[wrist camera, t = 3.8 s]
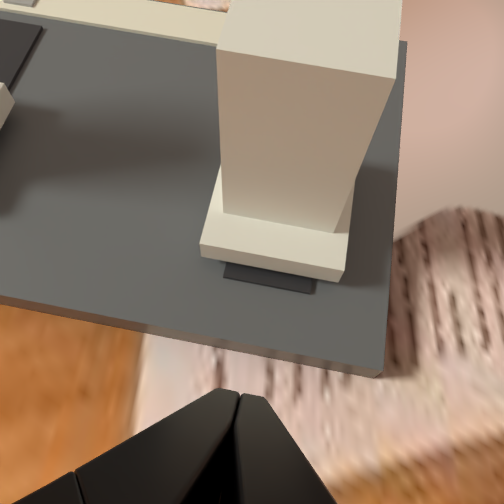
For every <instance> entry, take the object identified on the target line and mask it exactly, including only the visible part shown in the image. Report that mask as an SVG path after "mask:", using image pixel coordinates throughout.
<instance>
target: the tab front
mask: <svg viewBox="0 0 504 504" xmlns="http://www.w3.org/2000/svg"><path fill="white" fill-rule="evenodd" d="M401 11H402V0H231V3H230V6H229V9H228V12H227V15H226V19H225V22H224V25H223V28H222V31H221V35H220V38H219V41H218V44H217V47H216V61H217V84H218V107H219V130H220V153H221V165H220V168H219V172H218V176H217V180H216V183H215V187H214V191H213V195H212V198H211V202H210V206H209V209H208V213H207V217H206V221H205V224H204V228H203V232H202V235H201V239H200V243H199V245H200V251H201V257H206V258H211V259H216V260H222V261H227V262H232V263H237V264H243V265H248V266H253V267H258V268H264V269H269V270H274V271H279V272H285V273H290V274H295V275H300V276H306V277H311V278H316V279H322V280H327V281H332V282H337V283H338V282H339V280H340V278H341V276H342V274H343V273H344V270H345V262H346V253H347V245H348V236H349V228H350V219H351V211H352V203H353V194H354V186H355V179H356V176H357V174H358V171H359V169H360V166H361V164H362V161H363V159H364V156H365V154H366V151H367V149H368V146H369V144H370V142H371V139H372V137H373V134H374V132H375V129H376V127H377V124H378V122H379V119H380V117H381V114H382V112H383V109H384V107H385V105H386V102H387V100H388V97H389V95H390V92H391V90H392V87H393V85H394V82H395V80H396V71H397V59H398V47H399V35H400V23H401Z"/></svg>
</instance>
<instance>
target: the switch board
mask: <svg viewBox="0 0 504 504" xmlns="http://www.w3.org/2000/svg"><path fill="white" fill-rule="evenodd" d="M226 15H227V12H222V11H216V10H209V9H203V8H197V7H191V6H185V5H179V4H173V3H166V2H160V1H154V0H0V82H1V83H4V84H5V85H6V87H7V89H8V91H9V92H10V94H11V96H12V97H13V99H14V101H15V103H14V105H13V107H12V109H11V111H10V113H9V115H8V116H7V118H6V120H5V122H4V124H3V126H2V128H1V130H0V304H3V305H8V306H13V307H18V308H23V309H28V310H33V311H38V312H43V313H48V314H53V315H58V316H63V317H68V318H73V319H78V320H83V321H88V322H93V323H98V324H103V325H108V326H113V327H118V328H123V329H128V330H133V331H138V332H143V333H148V334H153V335H158V336H163V337H168V338H173V339H178V340H183V341H188V342H193V343H198V344H203V345H208V346H213V347H218V348H223V349H228V350H233V351H238V352H243V353H248V354H253V355H258V356H263V357H268V358H273V359H278V360H283V361H288V362H293V363H298V364H303V365H308V366H313V367H318V368H323V369H328V370H333V371H338V372H343V373H348V374H354V375H359V376H364V377H369V378H374V377H376V376H377V375H378V374H380V373H381V372H383V369H384V355H385V341H386V327H387V314H388V300H389V286H390V273H391V259H392V245H393V231H394V217H395V203H396V190H397V176H398V162H399V148H400V134H401V122H402V108H403V94H404V80H405V67H406V52H407V42H406V41H400V40H399V47H398V59H397V71H396V80H395V82H394V85H393V87H392V90H391V92H390V95H389V97H388V100H387V102H386V105H385V107H384V109H383V112H382V114H381V117H380V119H379V122H378V124H377V127H376V129H375V132H374V134H373V137H372V139H371V142H370V144H369V146H368V149H367V151H366V154H365V156H364V159H363V161H362V164H361V166H360V169H359V171H358V174H357V176H356V179H355V186H354V194H353V203H352V211H351V219H350V228H349V236H348V245H347V253H346V262H345V270H344V273H343V274H342V276H341V278H340V280H339V282H338V283H337V282H332V281H327V280H322V279H316V278H311V277H306V276H300V275H295V274H290V273H285V272H279V271H274V270H269V269H264V268H258V267H253V266H248V265H243V264H237V263H232V262H227V261H222V260H216V259H211V258H206V257H201V251H200V245H199V243H200V239H201V235H202V232H203V228H204V224H205V221H206V217H207V213H208V209H209V206H210V202H211V198H212V195H213V191H214V187H215V183H216V180H217V176H218V172H219V168H220V165H221V153H220V130H219V107H218V84H217V61H216V47H217V44H218V41H219V38H220V35H221V31H222V28H223V25H224V22H225V19H226Z"/></svg>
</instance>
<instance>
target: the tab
mask: <svg viewBox="0 0 504 504" xmlns="http://www.w3.org/2000/svg"><path fill="white" fill-rule="evenodd" d="M14 103H15V101H14V99H13V97H12V96H11V94H10V92H9V91H8V89H7V87H6V85H5V84H4V83H1V82H0V130H1V128H2V126H3V124H4V122H5V120H6V118H7V116H8V115H9V113H10V111H11V109H12V107H13V105H14Z"/></svg>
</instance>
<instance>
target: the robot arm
mask: <svg viewBox="0 0 504 504" xmlns="http://www.w3.org/2000/svg"><path fill="white" fill-rule="evenodd" d="M12 504H337V502H336V501H335V499H334V498H333V496H332V495H331V494H330V492H329V491H328V489H327V488H326V486H325V485H324V483H323V482H322V480H321V479H320V477H319V476H318V475H317V473H316V472H315V470H314V469H313V467H312V466H311V464H310V463H309V461H308V460H307V458H306V457H305V456H304V454H303V453H302V451H301V450H300V448H299V447H298V445H297V444H296V442H295V441H294V439H293V438H292V437H291V435H290V434H289V432H288V431H287V429H286V428H285V426H284V425H283V423H282V422H281V420H280V419H279V418H278V416H277V415H276V413H275V412H274V410H273V409H272V407H271V406H270V404H269V403H268V401H267V400H266V399H265V398H264V397H261V396H256V395H251V394H246V393H244V394H242V395H241V396H240V394H239V393H238V392H236V391H231V390H226V389H222V388H217V389H214V390H213V391H211V392H209V393H207V394H206V395H204V396H202V397H200V398H199V399H197V400H195V401H194V402H192V403H190V404H188V405H187V406H185V407H183V408H181V409H180V410H178V411H176V412H174V413H173V414H171V415H169V416H167V417H166V418H164V419H162V420H161V421H159V422H157V423H155V424H154V425H152V426H150V427H148V428H147V429H145V430H143V431H141V432H140V433H138V434H136V435H135V436H133V437H131V438H129V439H128V440H126V441H124V442H122V443H121V444H119V445H117V446H115V447H114V448H112V449H110V450H108V451H107V452H105V453H103V454H102V455H100V456H98V457H96V458H95V459H93V460H91V461H89V462H88V463H86V464H84V465H82V466H81V467H79V468H77V469H76V470H75V471H74V472H68V473H67V474H65V475H63V476H61V477H60V478H58V479H56V480H54V481H53V482H51V483H49V484H47V485H46V486H44V487H42V488H40V489H38V490H36V491H35V492H33V493H31V494H29V495H27V496H25V497H23V498H22V499H20V500H18V501H16V502H14V503H12Z"/></svg>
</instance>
